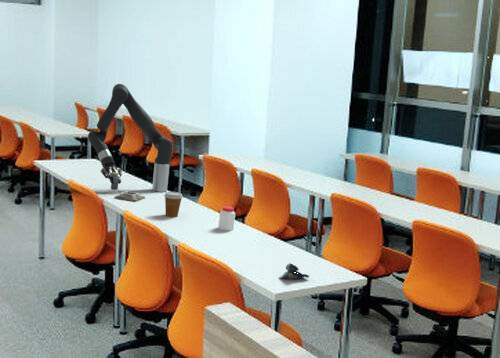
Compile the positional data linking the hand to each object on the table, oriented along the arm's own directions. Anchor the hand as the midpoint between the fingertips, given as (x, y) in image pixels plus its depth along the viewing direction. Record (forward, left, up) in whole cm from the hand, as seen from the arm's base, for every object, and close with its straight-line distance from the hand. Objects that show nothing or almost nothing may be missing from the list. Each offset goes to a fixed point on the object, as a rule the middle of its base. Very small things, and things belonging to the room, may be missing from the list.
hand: (116, 183), depth 380 cm
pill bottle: (+39, +78, -7) cm, 88 cm away
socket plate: (+7, +12, -6) cm, 15 cm away
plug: (-1, -2, -4) cm, 4 cm away
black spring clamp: (+100, +123, -7) cm, 159 cm away
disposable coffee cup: (+31, +46, -6) cm, 56 cm away
